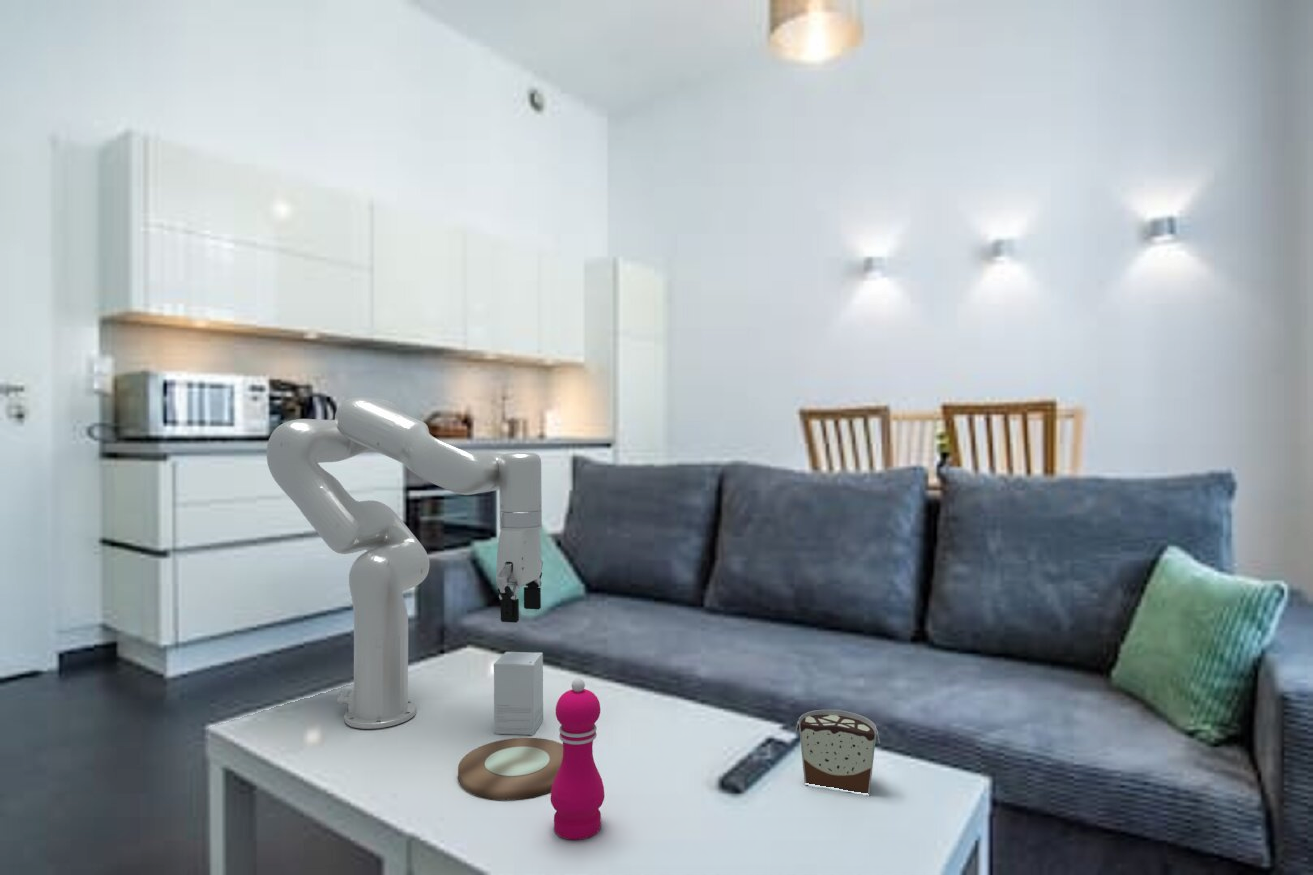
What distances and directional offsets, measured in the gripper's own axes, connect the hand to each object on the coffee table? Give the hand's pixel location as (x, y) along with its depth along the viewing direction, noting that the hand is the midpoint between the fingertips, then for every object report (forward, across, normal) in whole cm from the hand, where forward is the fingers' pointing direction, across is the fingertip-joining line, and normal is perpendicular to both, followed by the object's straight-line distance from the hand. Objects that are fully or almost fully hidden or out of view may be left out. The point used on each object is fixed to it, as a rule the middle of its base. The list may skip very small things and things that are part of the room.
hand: (521, 615), depth 129 cm
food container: (+21, +7, +55) cm, 60 cm away
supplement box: (+20, 0, -1) cm, 21 cm away
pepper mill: (+21, +29, +21) cm, 41 cm away
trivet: (+20, +16, +6) cm, 27 cm away
